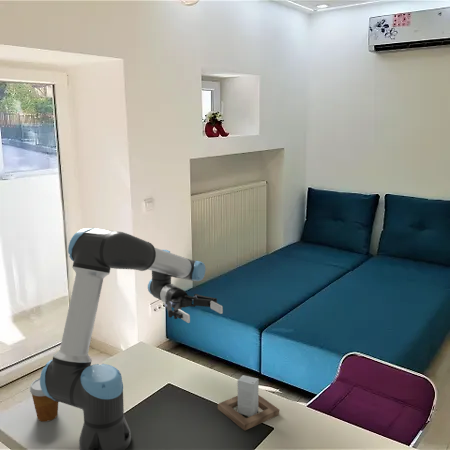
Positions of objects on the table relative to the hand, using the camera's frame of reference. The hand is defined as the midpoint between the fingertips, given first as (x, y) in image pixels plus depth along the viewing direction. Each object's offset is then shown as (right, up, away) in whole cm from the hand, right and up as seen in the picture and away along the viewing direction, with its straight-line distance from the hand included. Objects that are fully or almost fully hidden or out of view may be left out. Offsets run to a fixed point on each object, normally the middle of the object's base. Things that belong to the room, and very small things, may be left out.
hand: (205, 314), depth 169 cm
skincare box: (+14, -32, -5) cm, 35 cm away
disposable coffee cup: (-52, -32, -7) cm, 62 cm away
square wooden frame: (+14, -32, -5) cm, 35 cm away
